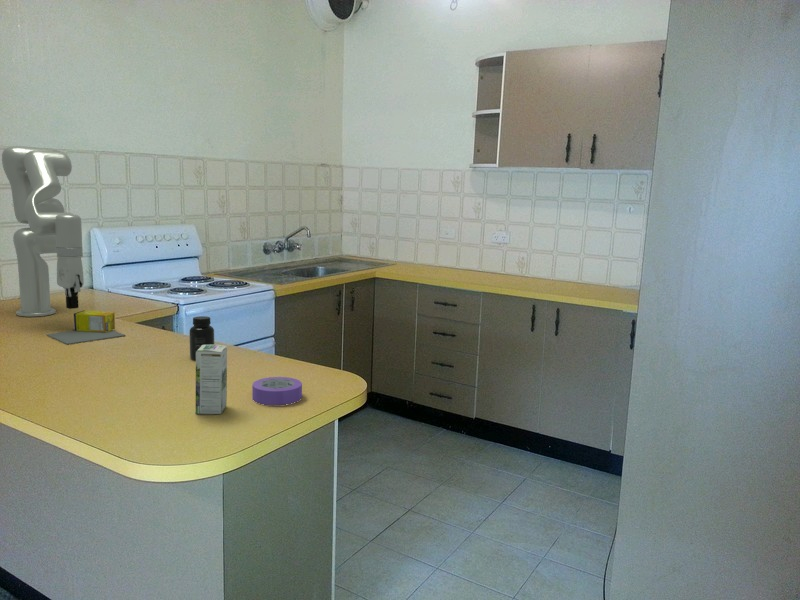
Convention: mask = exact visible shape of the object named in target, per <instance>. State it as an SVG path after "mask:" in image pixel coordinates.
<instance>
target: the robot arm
mask: <svg viewBox="0 0 800 600" xmlns="http://www.w3.org/2000/svg"><path fill="white" fill-rule="evenodd" d="M1 162H2V163H1V164H2V168H3V171H4V173H5V176H6V178H7V180H8V183H9V185H10V189H11V190H10V191H11V195H12V196H11V197H12V203H13V205H12V206H13V210H14V211H13V212H14V215H15V219H16V221H17V222H18V223H20V224H25V225H28V227H22V228H19V229H17V230H15V232H14V233H13V237H12V238H13V240H12V241H13V245H14V248H15V254H16V259H17V268H18V269H17V270H18V284H19V301H20V309H18V310H16V311H15V314H16V315H17V316H19V317H27V318H29V317H31V318H32V317H45V316H50V315H53V314H56V312H57V311H56V308H53V307H51V292H50V291H51V289H50V271H49V265H48V263H47V261H46V260H45V259H44V258H43V257H41V255H44V254H56V258H57V262H56V284H57V285H58V287H61V288H63V289H64V295H65V306H66V307H65V308H66V309H69V310H71V309H72V310H73V309H78V308H79V293H80V292H81V288H83V287H84V281H85V279H84V269H83V261H82V260H83V259H82V258H83V257H84V250H83V232H82V231H83V229H82V217H81V216H80V215H78V214H74V213H71V212H65V208H64V205H63V203H62V202H61V201H60V200H59V199H57V198H55V197H57V196H58V195H59V194H60V193H61V191H62V185H61V182H60V181H59V177H68V176H70V174H71V172H72V168H73V166H72V165H73V164H72V162H71V158H70V157H69V156H68V154H67V153H66V152H63V151H61V150H58V149H54V148H49V147H48V148H45V147H32V146H21V145H20V146H17V145H16V146H15V145H13V146H8V147H5V149H3V151H2V153H1Z"/></svg>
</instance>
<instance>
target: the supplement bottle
mask: <svg viewBox="0 0 800 600" xmlns="http://www.w3.org/2000/svg"><path fill="white" fill-rule="evenodd" d="M211 323H212V322H211V316H206V315H205V316H204V315H203V316H193V317H192V325H193V326H191V327H190V329H189V357H190V359H191V360H193V361H196V351H197V350H198V349H199V348H200V347H201V346H202V345H209V344H213V345H215V328H214V327H213V326H211Z"/></svg>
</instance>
